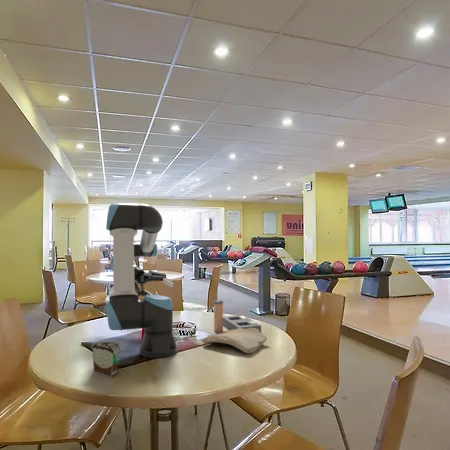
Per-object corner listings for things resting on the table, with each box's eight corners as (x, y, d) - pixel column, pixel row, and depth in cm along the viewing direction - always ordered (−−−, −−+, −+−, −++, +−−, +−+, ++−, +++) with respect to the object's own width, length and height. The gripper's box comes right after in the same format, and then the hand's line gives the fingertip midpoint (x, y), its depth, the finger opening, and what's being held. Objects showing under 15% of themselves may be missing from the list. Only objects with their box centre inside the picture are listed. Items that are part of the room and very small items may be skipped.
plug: (224, 331, 182) (224, 301, 182) (215, 332, 180) (215, 302, 180) (221, 329, 186) (221, 300, 186) (212, 330, 184) (212, 300, 185)
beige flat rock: (225, 337, 175) (199, 344, 159) (226, 321, 176) (201, 326, 159) (270, 348, 162) (247, 356, 145) (271, 331, 162) (249, 337, 146)
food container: (128, 372, 129) (128, 344, 129) (114, 378, 124) (114, 348, 124) (105, 365, 136) (105, 338, 136) (91, 371, 130) (91, 343, 131)
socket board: (261, 333, 178) (261, 324, 178) (238, 336, 174) (238, 327, 174) (242, 322, 200) (242, 314, 201) (221, 324, 196) (221, 316, 196)
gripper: (150, 268, 207) (178, 285, 198) (116, 289, 188) (146, 309, 179) (151, 257, 203) (180, 275, 194) (116, 278, 184) (146, 298, 175)
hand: (163, 291), depth 187 cm, fingers open, 13 cm apart
